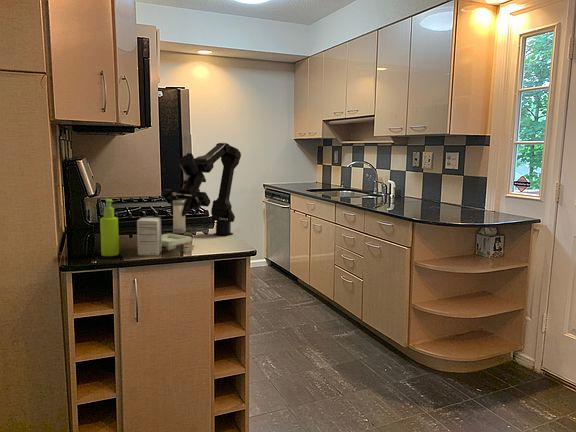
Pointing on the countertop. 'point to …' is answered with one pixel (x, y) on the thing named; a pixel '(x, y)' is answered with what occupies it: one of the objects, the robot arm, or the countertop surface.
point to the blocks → (189, 248)
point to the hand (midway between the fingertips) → (177, 215)
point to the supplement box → (149, 236)
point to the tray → (174, 239)
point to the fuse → (178, 216)
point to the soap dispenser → (109, 231)
